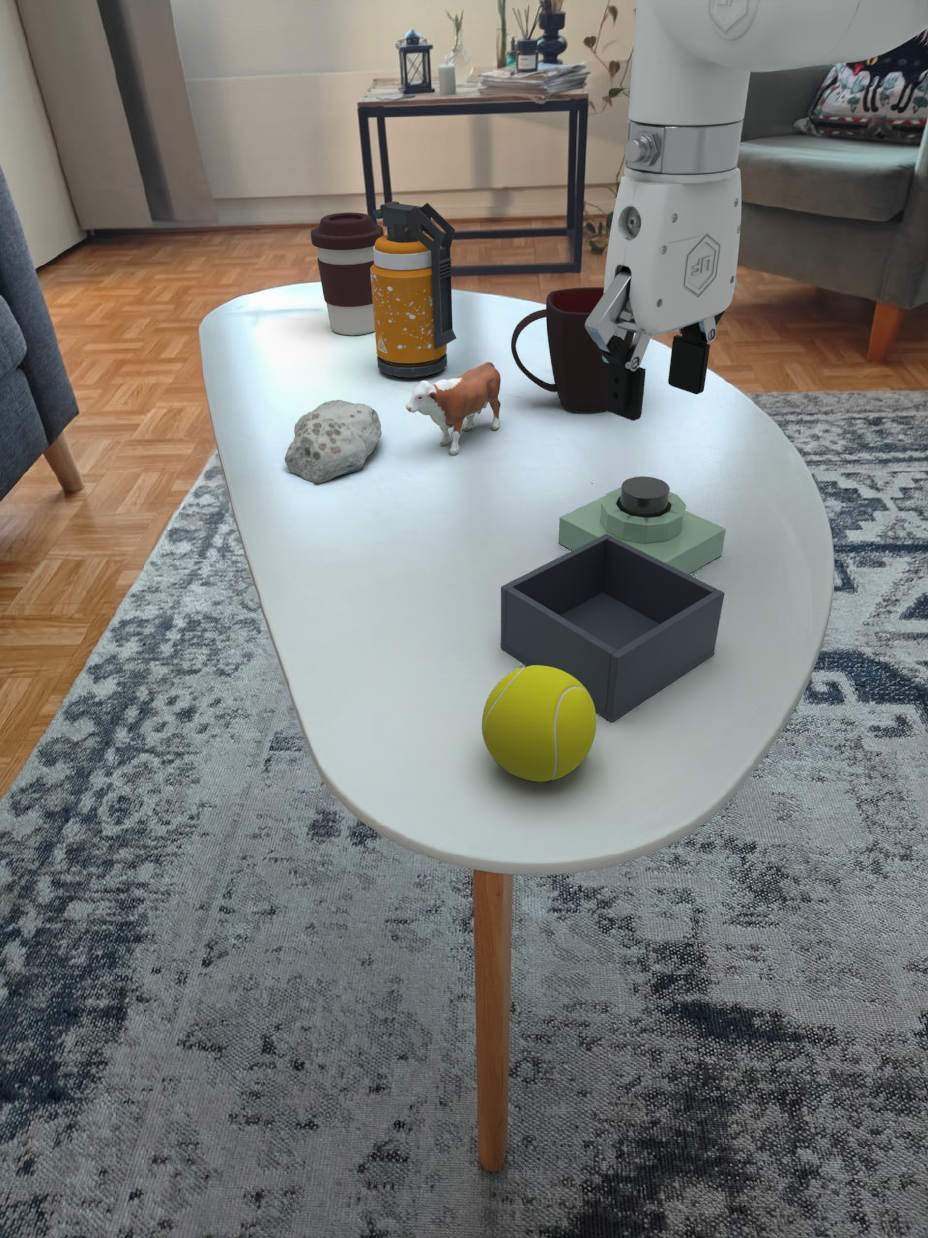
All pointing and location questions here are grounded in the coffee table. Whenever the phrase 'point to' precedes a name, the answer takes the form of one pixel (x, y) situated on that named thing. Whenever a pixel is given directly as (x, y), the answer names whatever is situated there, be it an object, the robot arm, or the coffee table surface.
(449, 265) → the canister
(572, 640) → the bin
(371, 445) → the decorative stone
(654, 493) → the button top
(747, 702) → the coffee table surface
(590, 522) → the push button base
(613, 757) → the coffee table surface
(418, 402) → the bull figurine
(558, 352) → the mug
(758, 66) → the robot arm
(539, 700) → the tennis ball
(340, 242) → the coffee cup
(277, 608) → the coffee table surface
